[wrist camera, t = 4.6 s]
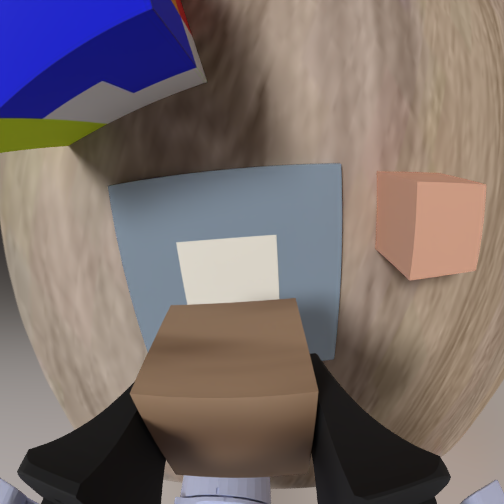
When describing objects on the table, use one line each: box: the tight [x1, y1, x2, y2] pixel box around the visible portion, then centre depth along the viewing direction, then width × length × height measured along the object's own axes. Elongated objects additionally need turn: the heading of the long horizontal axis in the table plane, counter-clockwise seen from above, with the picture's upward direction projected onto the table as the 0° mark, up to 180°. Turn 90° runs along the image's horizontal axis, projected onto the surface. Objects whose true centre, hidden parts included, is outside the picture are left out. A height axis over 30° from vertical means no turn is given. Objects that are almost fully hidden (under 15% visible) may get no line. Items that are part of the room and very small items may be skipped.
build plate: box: [108, 163, 342, 361], centre depth 18 cm, size 14×14×1 cm
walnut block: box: [130, 298, 319, 478], centre depth 10 cm, size 5×5×5 cm
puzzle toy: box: [0, 0, 207, 153], centre depth 9 cm, size 10×10×10 cm
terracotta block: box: [375, 172, 486, 280], centre depth 15 cm, size 5×5×5 cm
